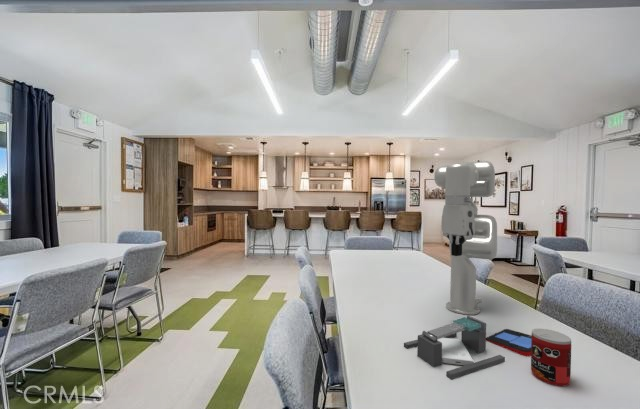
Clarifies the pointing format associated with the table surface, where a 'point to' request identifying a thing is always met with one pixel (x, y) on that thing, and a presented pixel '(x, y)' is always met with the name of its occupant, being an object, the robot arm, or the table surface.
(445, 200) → the robot arm
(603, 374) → the table surface
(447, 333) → the rectangular panel
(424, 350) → the socket frame
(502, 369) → the table surface
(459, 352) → the external hard drive
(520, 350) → the game console
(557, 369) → the canned food
